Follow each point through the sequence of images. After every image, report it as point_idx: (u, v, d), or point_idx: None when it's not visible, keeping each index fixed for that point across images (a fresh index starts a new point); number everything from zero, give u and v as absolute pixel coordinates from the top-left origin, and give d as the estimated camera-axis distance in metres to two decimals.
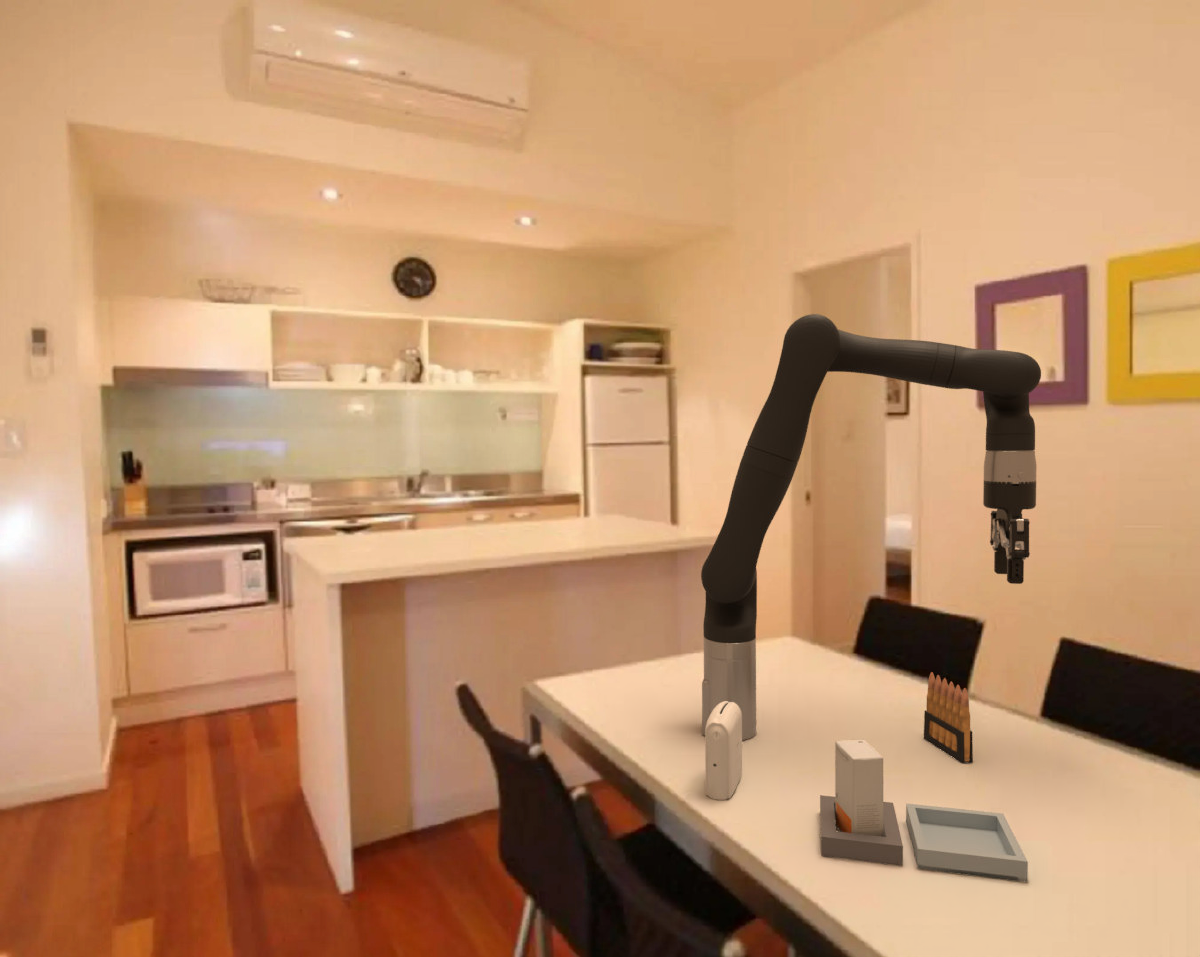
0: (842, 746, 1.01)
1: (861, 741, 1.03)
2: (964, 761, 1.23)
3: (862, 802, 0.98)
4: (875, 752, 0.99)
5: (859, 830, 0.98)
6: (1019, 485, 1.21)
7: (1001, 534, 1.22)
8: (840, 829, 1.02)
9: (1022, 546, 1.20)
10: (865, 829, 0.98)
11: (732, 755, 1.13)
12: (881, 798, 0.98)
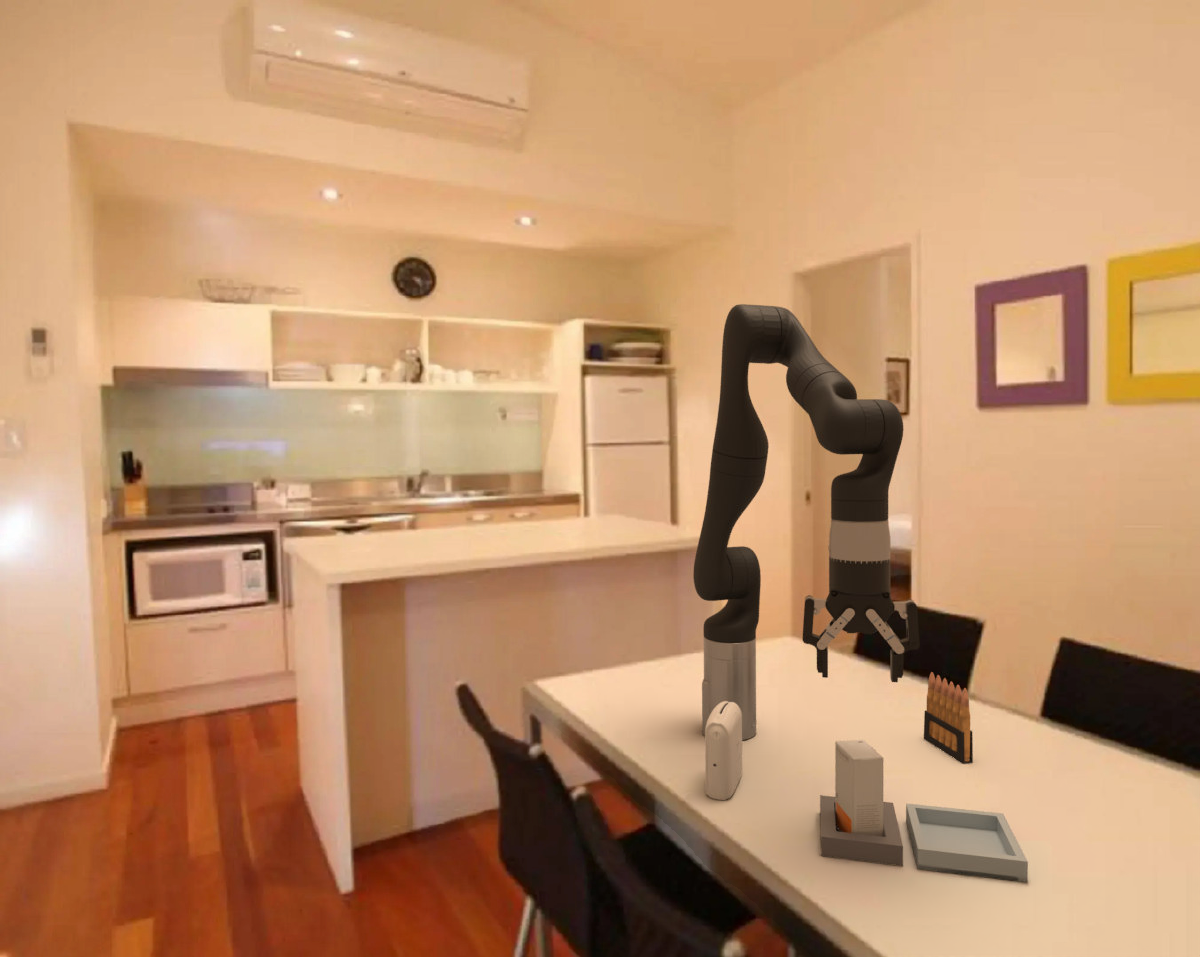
0: (842, 746, 1.01)
1: (862, 741, 1.03)
2: (964, 761, 1.23)
3: (862, 802, 0.98)
4: (875, 752, 0.99)
5: (859, 830, 0.98)
6: None
7: (882, 625, 0.97)
8: (840, 829, 1.02)
9: (894, 633, 1.00)
10: (865, 829, 0.98)
11: (732, 755, 1.13)
12: (881, 798, 0.98)
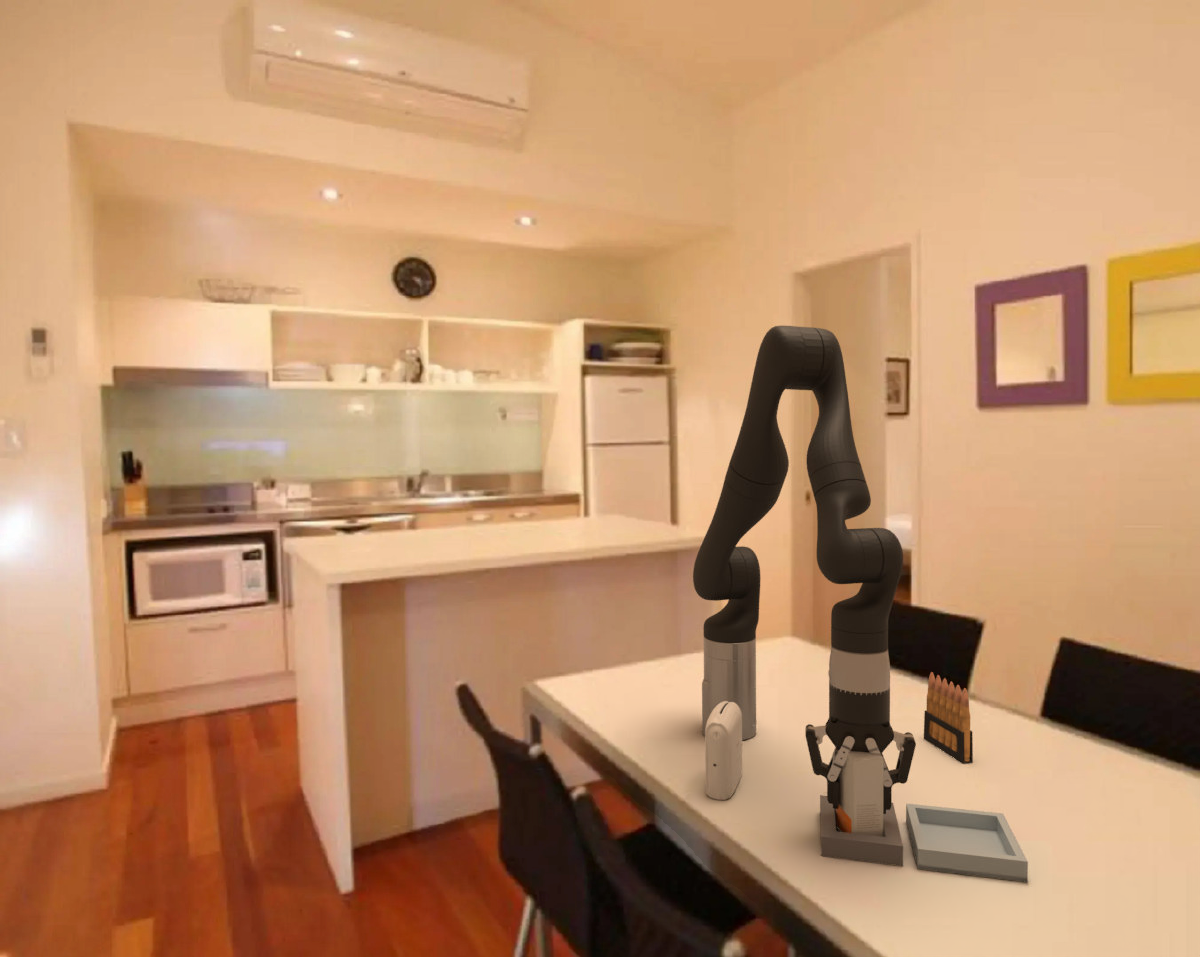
0: None
1: None
2: (964, 761, 1.23)
3: (862, 802, 0.98)
4: None
5: (859, 830, 0.98)
6: None
7: None
8: (840, 829, 1.02)
9: (886, 764, 1.01)
10: (865, 829, 0.98)
11: (732, 755, 1.13)
12: (881, 798, 0.98)
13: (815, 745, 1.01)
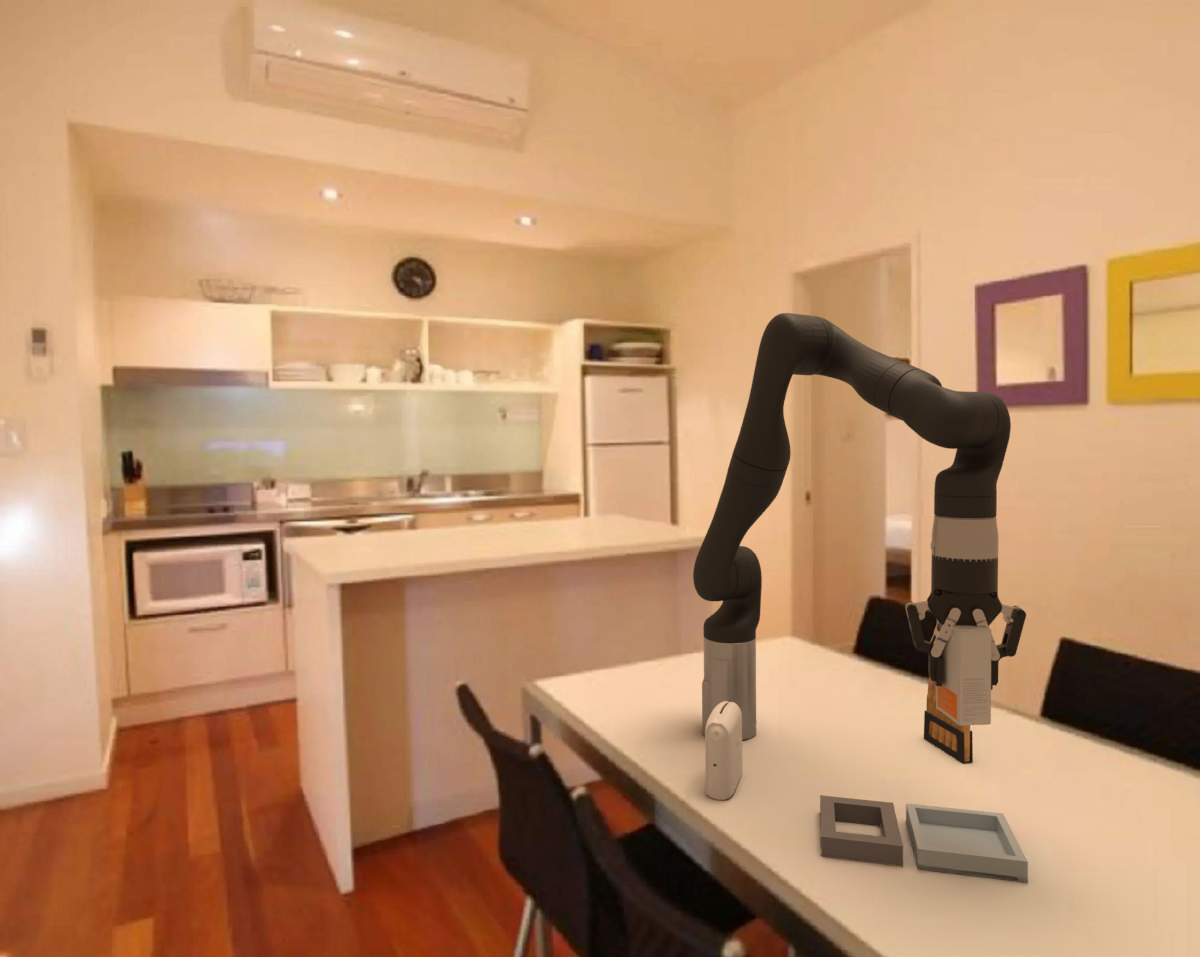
0: None
1: None
2: (964, 761, 1.23)
3: (969, 676, 0.94)
4: None
5: (965, 705, 0.94)
6: None
7: None
8: (942, 709, 0.98)
9: None
10: (972, 704, 0.94)
11: (732, 755, 1.13)
12: (989, 672, 0.94)
13: (917, 620, 0.97)
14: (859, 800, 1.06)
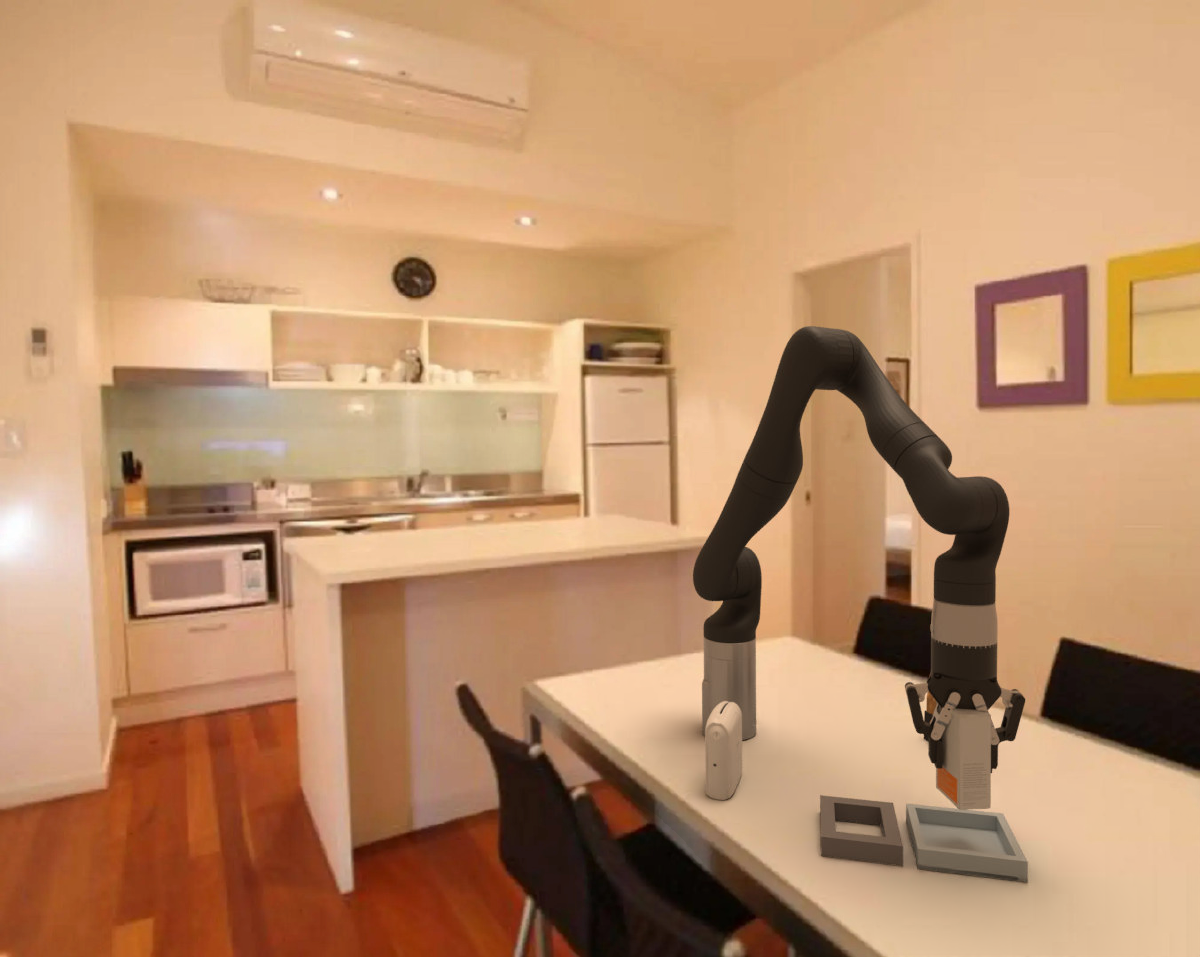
0: None
1: None
2: None
3: (969, 761, 0.94)
4: None
5: (965, 790, 0.94)
6: None
7: None
8: (942, 790, 0.99)
9: None
10: (972, 789, 0.95)
11: (732, 755, 1.13)
12: (988, 757, 0.94)
13: (917, 703, 0.97)
14: (859, 800, 1.06)
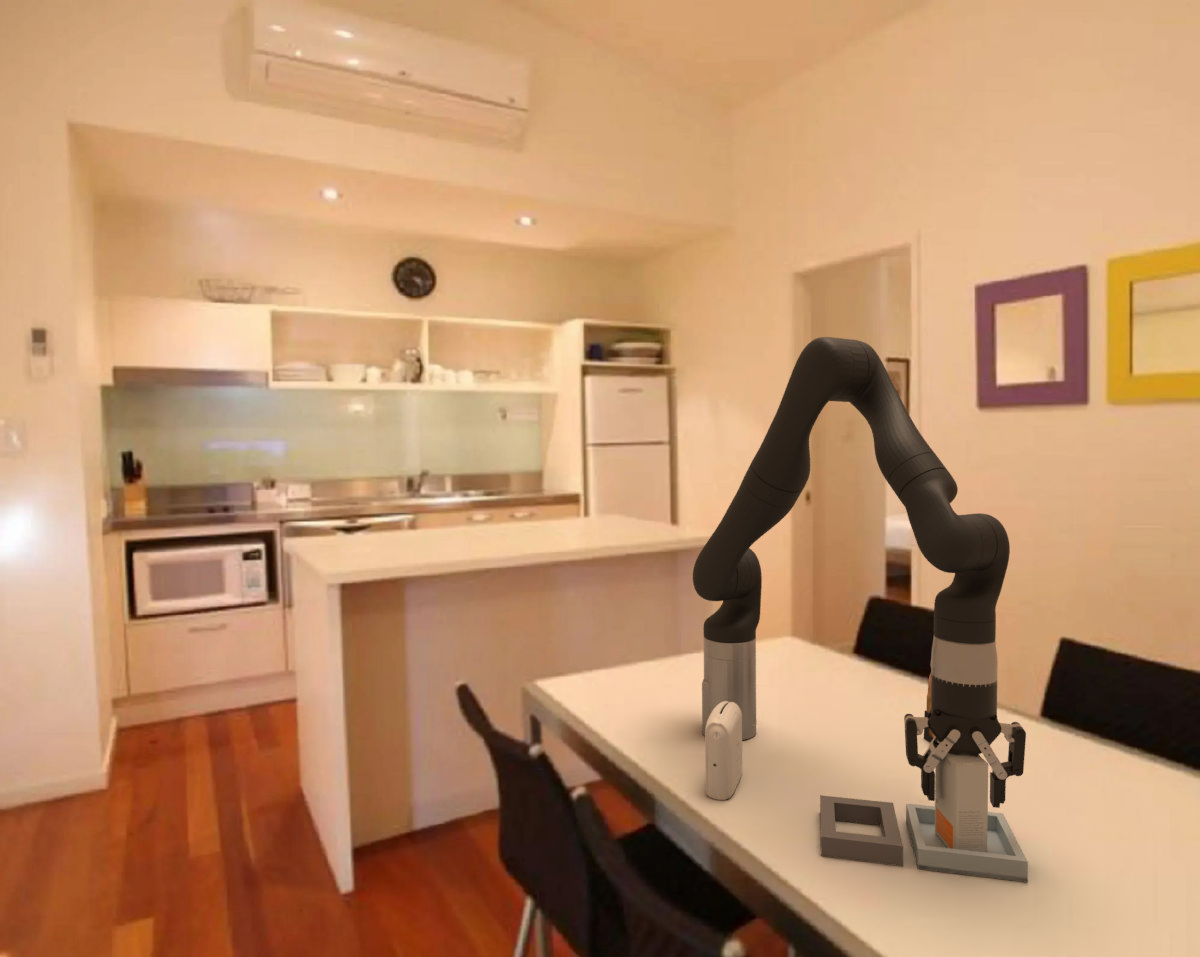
0: None
1: None
2: None
3: (965, 808, 0.95)
4: (979, 757, 0.96)
5: (961, 837, 0.95)
6: None
7: (987, 749, 0.95)
8: (940, 835, 0.99)
9: (996, 756, 0.97)
10: (968, 836, 0.95)
11: (732, 755, 1.13)
12: (985, 805, 0.95)
13: (915, 735, 0.97)
14: (859, 800, 1.06)
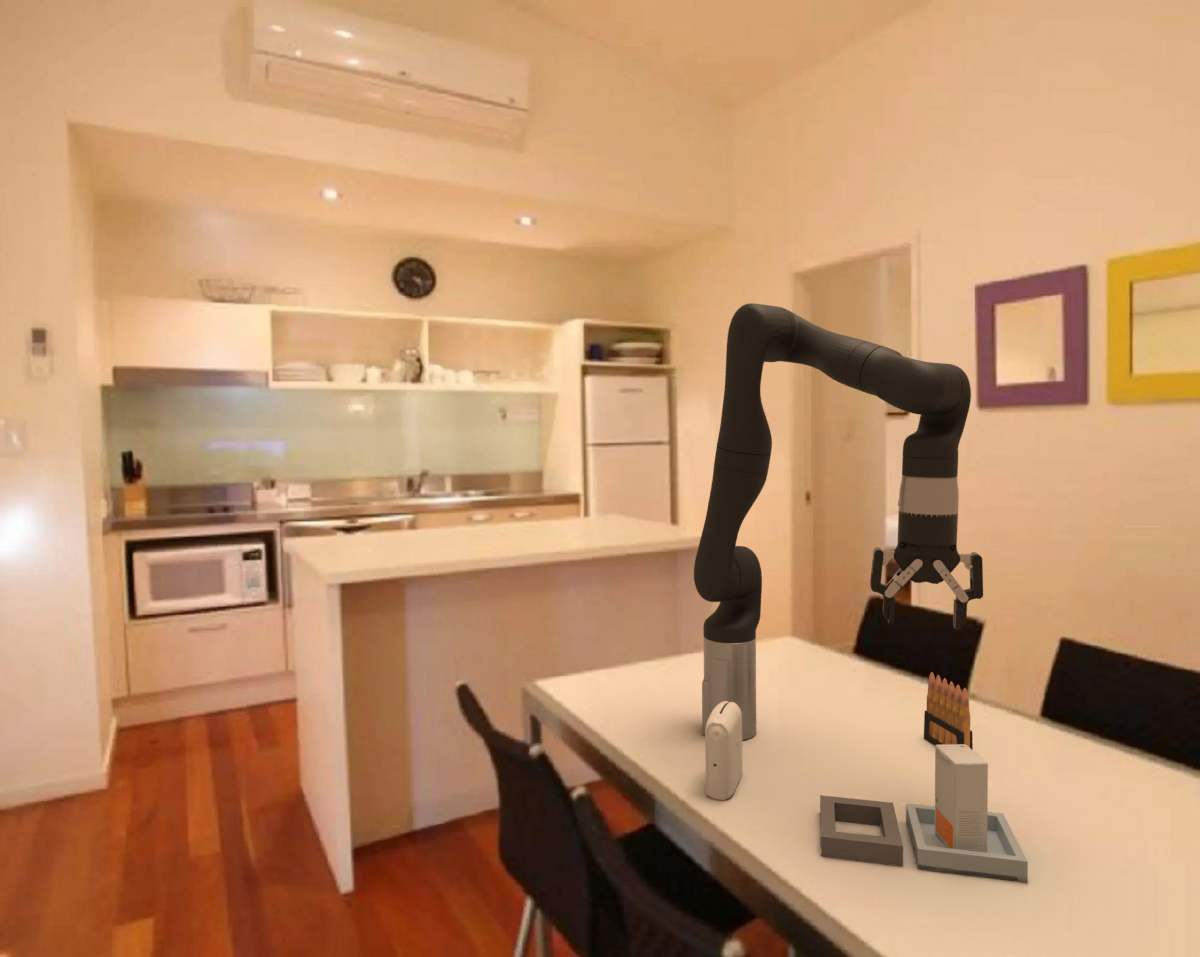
0: (943, 750, 0.98)
1: (963, 746, 1.00)
2: None
3: (965, 808, 0.95)
4: (979, 757, 0.96)
5: (961, 837, 0.95)
6: None
7: (948, 575, 1.04)
8: (940, 835, 0.99)
9: None
10: (968, 836, 0.95)
11: (732, 755, 1.13)
12: (985, 805, 0.95)
13: (880, 564, 1.07)
14: (859, 800, 1.06)
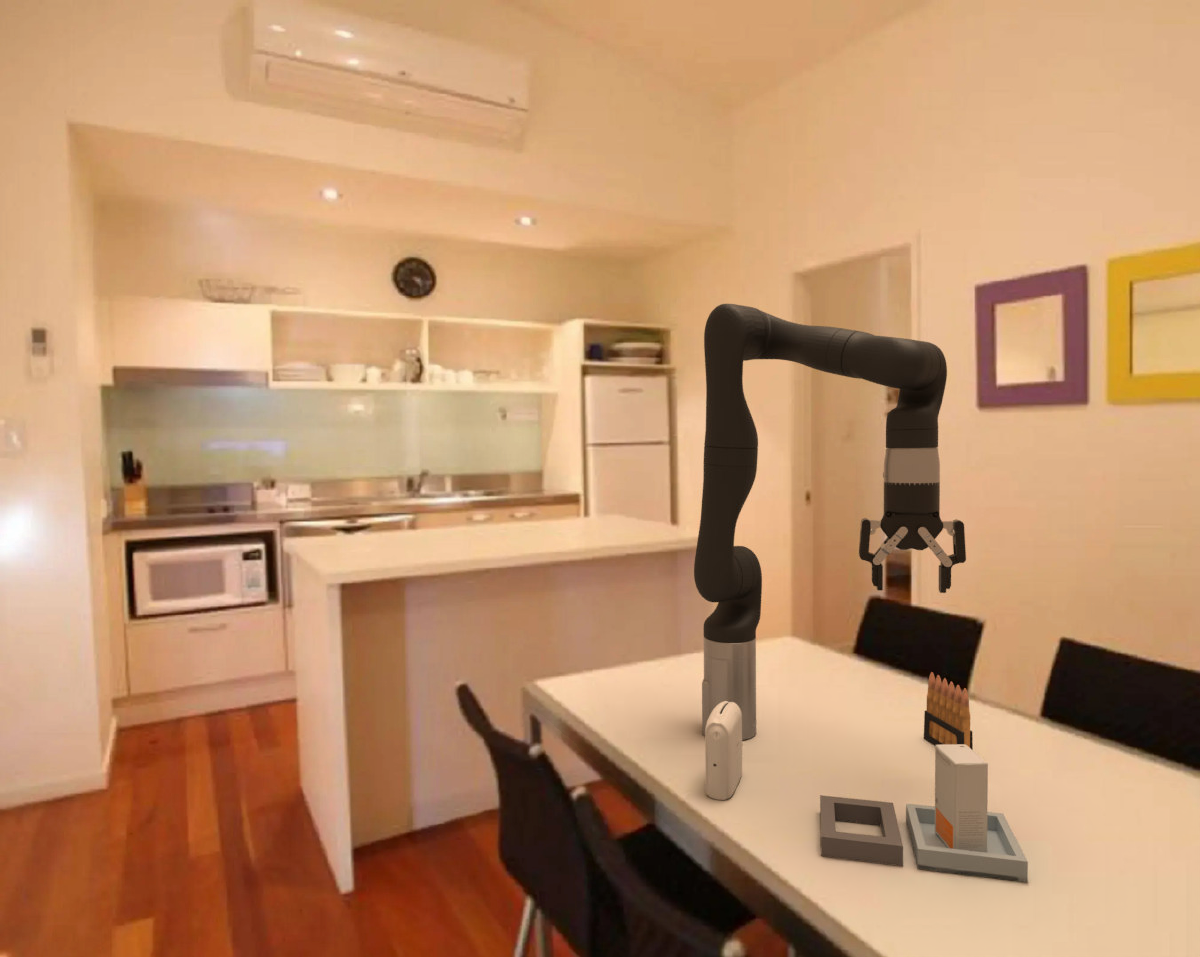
0: (943, 750, 0.98)
1: (963, 746, 1.00)
2: None
3: (965, 808, 0.95)
4: (979, 757, 0.96)
5: (961, 837, 0.95)
6: None
7: (932, 541, 1.09)
8: (940, 835, 0.99)
9: None
10: (968, 836, 0.95)
11: (732, 755, 1.13)
12: (985, 805, 0.95)
13: (868, 533, 1.12)
14: (859, 800, 1.06)
